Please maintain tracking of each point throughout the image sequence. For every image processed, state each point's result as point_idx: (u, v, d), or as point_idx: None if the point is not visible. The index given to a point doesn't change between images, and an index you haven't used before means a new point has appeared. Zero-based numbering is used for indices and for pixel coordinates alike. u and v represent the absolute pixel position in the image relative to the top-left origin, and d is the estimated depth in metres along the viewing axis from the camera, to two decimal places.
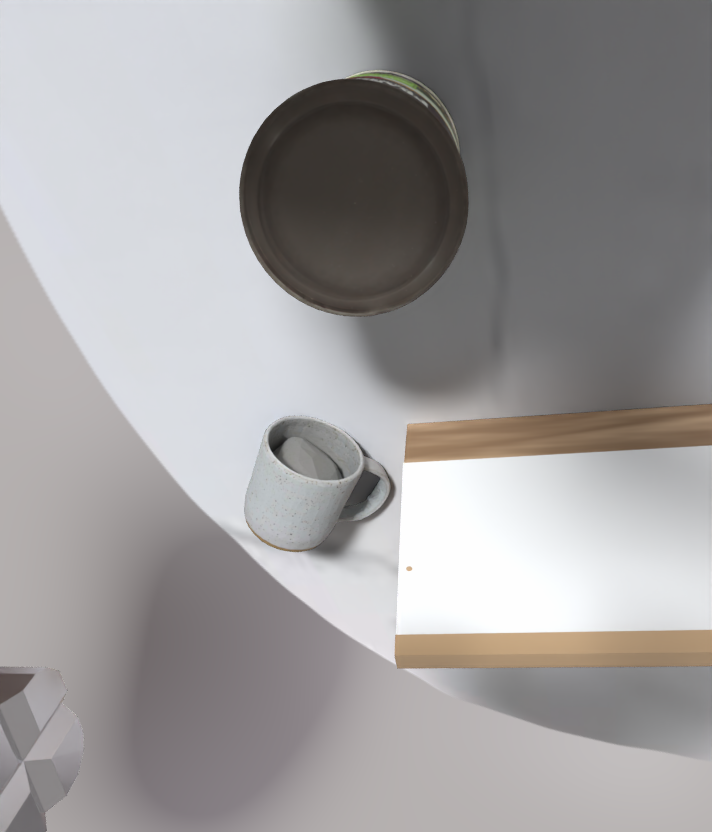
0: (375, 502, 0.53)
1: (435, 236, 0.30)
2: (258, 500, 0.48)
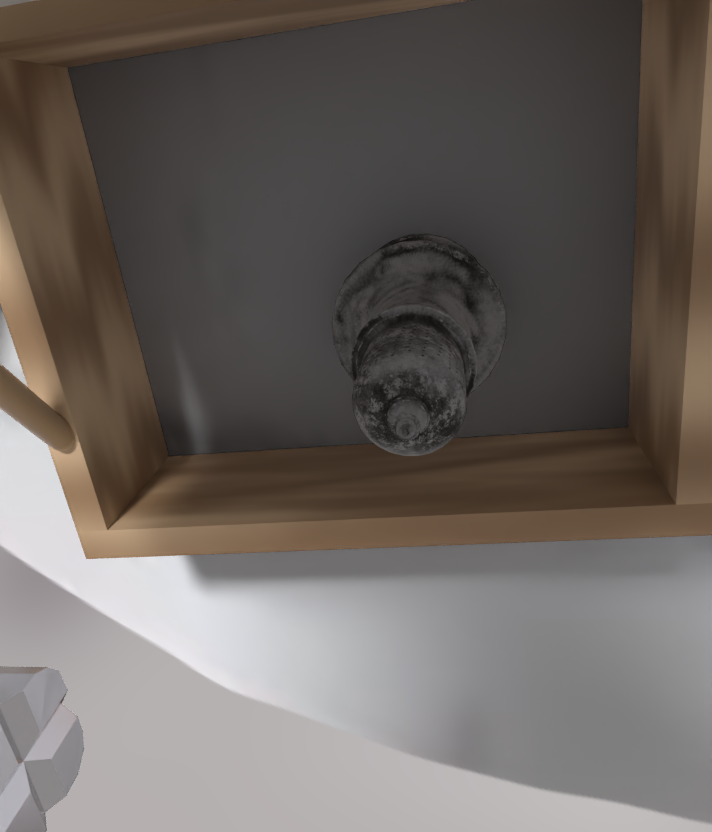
0: None
1: None
2: None
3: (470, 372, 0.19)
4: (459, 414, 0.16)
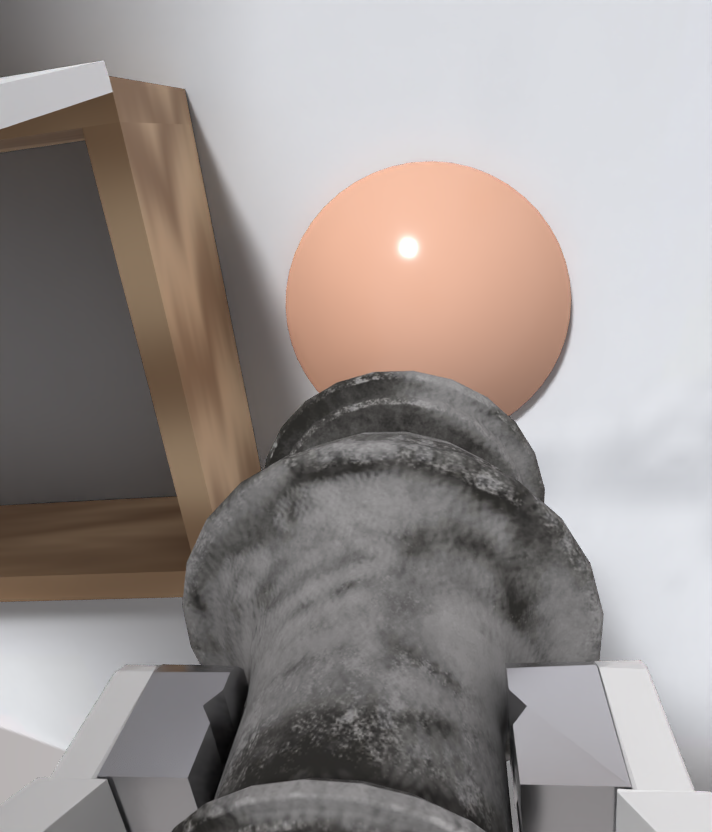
0: None
1: None
2: None
3: None
4: None
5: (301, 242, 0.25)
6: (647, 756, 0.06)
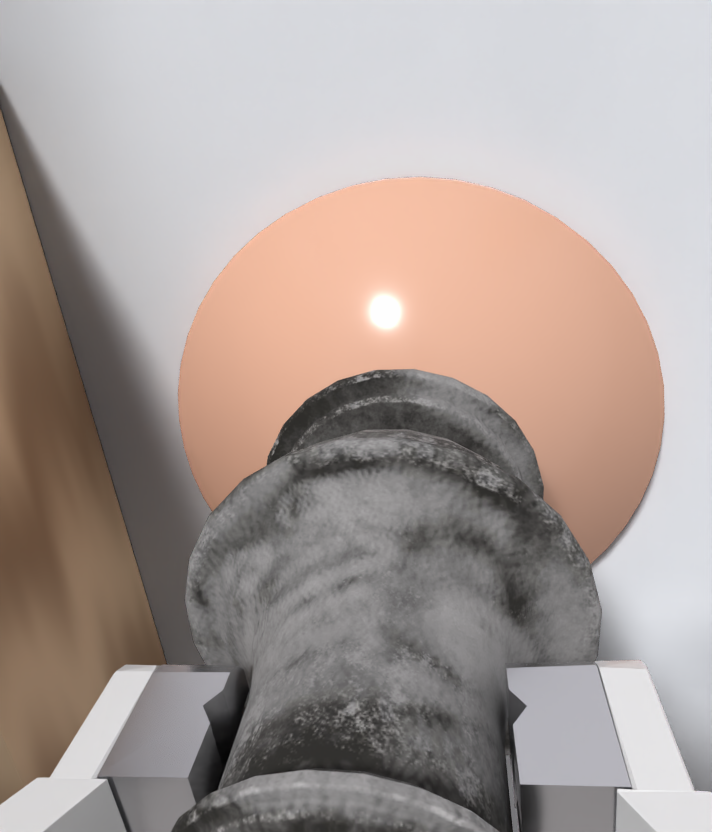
0: None
1: None
2: None
3: None
4: None
5: (198, 315, 0.15)
6: (647, 756, 0.06)
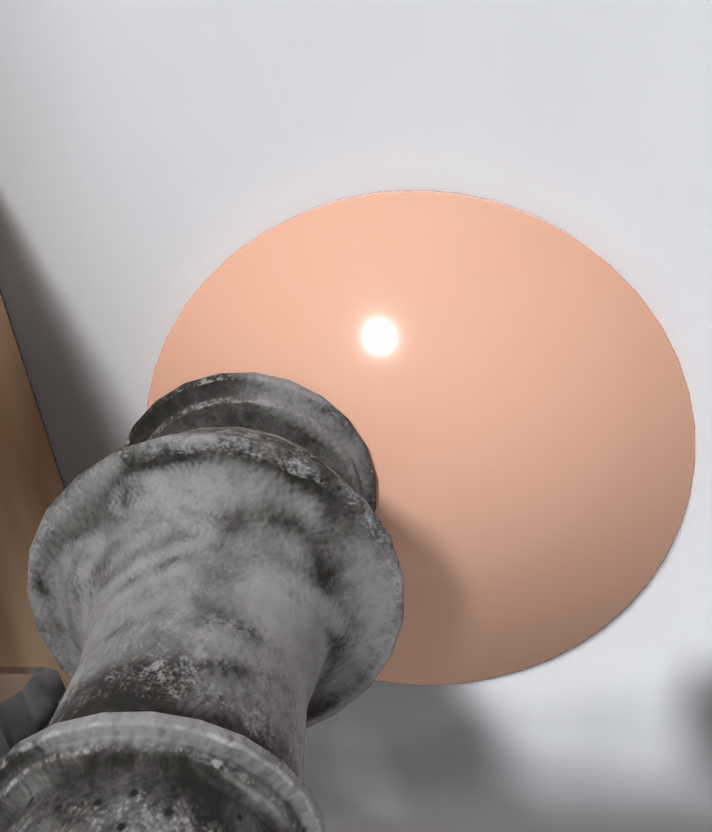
0: None
1: None
2: None
3: None
4: None
5: (166, 345, 0.13)
6: None
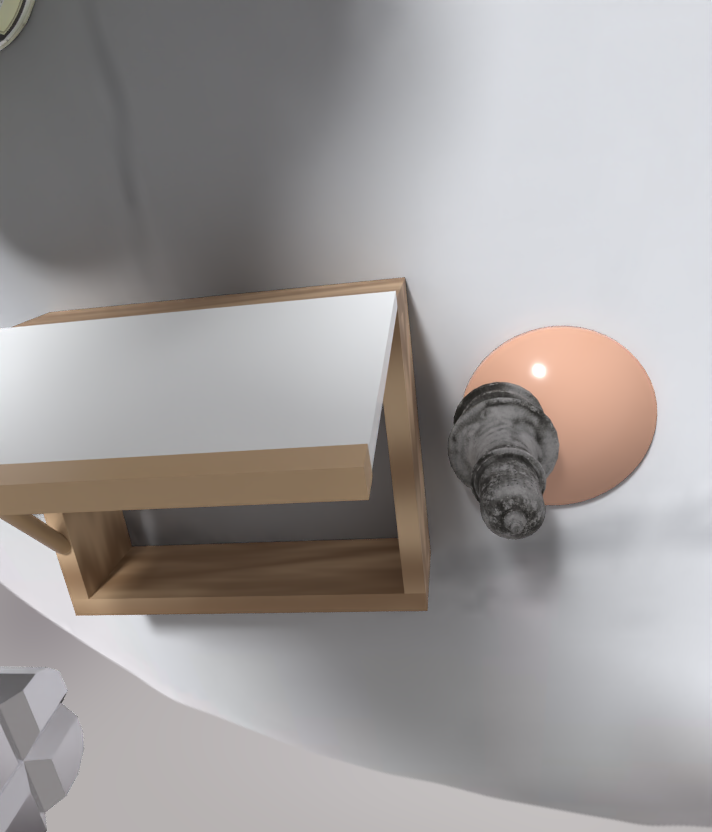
0: None
1: None
2: None
3: (542, 488, 0.32)
4: (541, 519, 0.29)
5: (476, 374, 0.38)
6: None
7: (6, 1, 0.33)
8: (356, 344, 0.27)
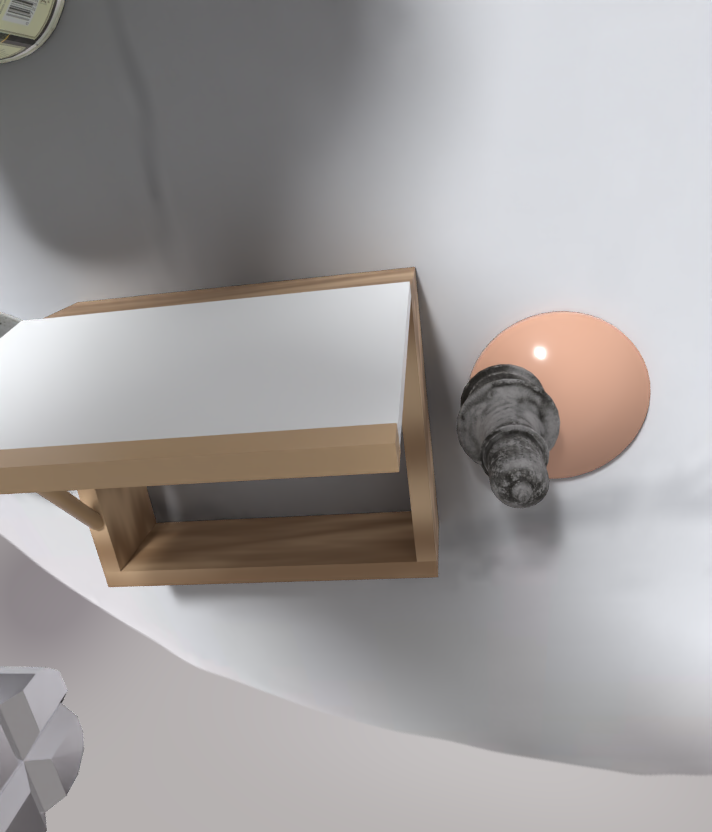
0: None
1: None
2: None
3: (545, 462, 0.35)
4: (546, 489, 0.32)
5: (481, 357, 0.41)
6: None
7: (38, 8, 0.35)
8: (377, 333, 0.29)
